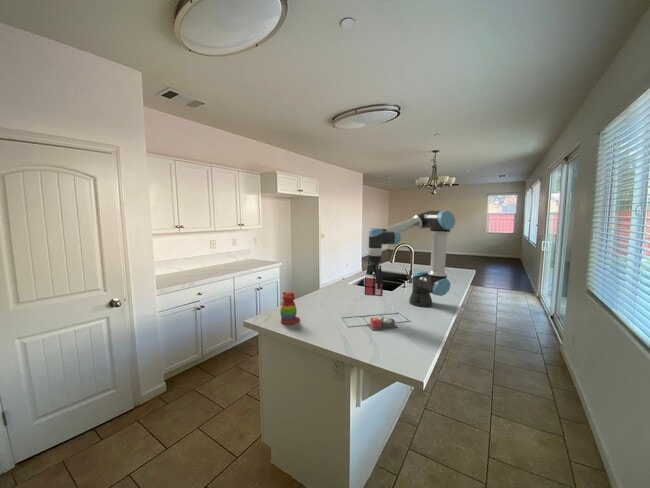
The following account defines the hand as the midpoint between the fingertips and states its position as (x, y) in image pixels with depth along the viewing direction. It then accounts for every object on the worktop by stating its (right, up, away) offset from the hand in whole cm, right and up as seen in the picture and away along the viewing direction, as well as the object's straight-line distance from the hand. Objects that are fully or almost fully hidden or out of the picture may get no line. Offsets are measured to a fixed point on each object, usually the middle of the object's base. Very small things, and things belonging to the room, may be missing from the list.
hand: (373, 291), depth 156 cm
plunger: (+7, -17, -7) cm, 20 cm away
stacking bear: (-50, -18, 0) cm, 53 cm away
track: (+2, -17, +2) cm, 18 cm away
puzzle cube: (0, -1, 0) cm, 1 cm away
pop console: (+4, -18, -8) cm, 20 cm away
